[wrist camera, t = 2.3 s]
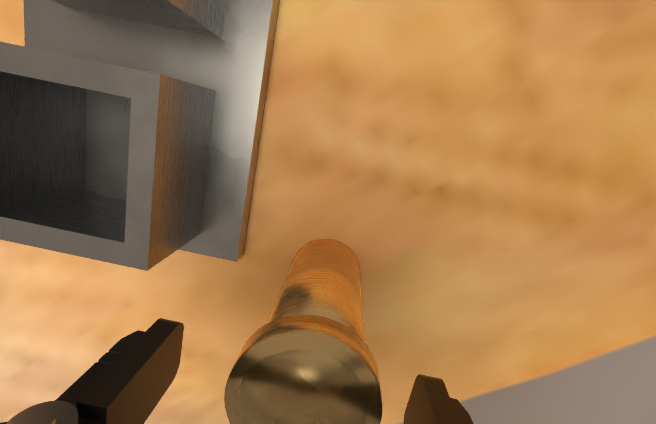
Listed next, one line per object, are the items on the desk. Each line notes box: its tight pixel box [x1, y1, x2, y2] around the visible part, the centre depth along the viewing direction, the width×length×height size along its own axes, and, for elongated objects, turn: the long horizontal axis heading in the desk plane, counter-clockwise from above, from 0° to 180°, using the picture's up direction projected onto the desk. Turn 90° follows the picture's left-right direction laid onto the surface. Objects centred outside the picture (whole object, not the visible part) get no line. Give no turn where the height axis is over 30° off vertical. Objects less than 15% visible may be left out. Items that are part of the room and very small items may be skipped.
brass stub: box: [224, 239, 382, 424], centre depth 15 cm, size 5×5×10 cm
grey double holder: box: [0, 0, 280, 270], centre depth 12 cm, size 12×20×11 cm, turn 169°
